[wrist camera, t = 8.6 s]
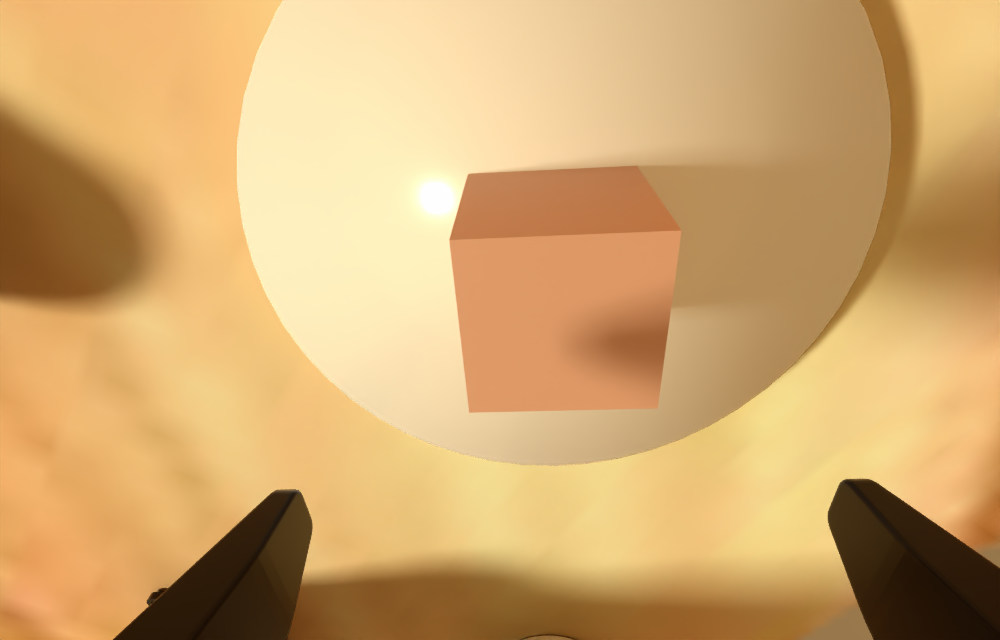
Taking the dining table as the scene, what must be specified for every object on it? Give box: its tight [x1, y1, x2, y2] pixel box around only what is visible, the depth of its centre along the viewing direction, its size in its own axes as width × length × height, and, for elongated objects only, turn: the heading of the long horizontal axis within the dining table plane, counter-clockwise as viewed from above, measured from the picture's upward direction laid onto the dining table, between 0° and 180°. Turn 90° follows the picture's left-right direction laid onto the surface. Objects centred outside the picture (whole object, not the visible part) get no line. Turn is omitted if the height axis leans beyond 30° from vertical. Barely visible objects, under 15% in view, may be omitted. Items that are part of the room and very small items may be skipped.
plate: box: [237, 0, 891, 466], centre depth 17 cm, size 20×20×1 cm
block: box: [449, 166, 682, 413], centre depth 15 cm, size 5×5×5 cm
